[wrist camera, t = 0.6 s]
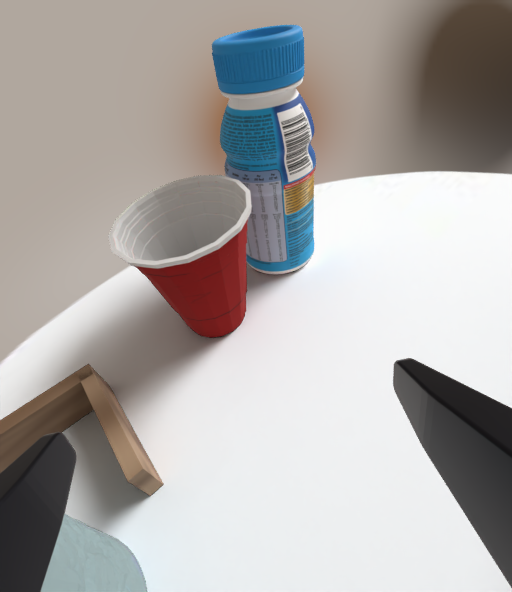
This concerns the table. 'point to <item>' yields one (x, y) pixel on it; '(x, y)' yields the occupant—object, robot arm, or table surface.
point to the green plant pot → (91, 562)
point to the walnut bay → (69, 409)
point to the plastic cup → (191, 248)
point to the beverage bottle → (269, 142)
